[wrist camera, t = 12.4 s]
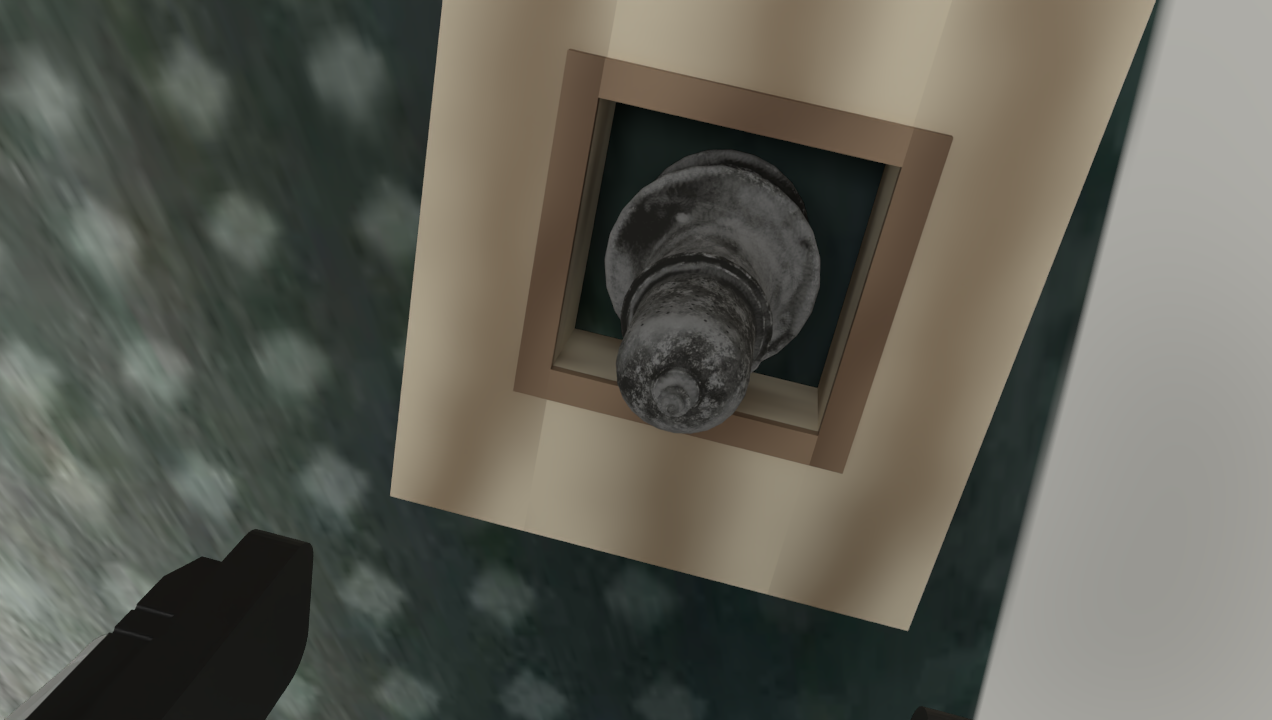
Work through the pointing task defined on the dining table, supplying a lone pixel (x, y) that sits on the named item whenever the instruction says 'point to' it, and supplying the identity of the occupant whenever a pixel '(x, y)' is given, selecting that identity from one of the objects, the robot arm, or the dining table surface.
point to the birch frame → (772, 408)
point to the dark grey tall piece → (707, 285)
